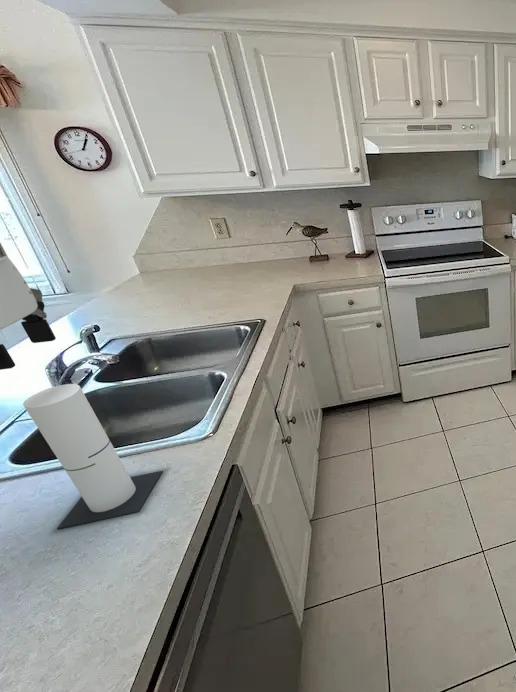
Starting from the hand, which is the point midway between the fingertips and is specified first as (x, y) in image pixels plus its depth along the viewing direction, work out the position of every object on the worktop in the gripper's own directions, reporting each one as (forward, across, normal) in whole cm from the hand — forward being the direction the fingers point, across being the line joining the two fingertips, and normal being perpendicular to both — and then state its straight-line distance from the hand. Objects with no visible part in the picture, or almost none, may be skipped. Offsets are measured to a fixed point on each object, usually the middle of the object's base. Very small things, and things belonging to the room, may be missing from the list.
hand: (24, 354), depth 68 cm
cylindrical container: (+34, 0, +1) cm, 34 cm away
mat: (+34, 0, +1) cm, 34 cm away
